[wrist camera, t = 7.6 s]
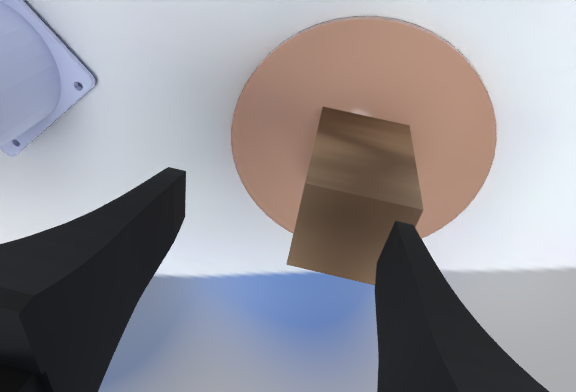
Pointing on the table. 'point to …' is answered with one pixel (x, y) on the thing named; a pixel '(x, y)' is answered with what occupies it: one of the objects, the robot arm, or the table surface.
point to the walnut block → (354, 194)
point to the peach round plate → (365, 112)
